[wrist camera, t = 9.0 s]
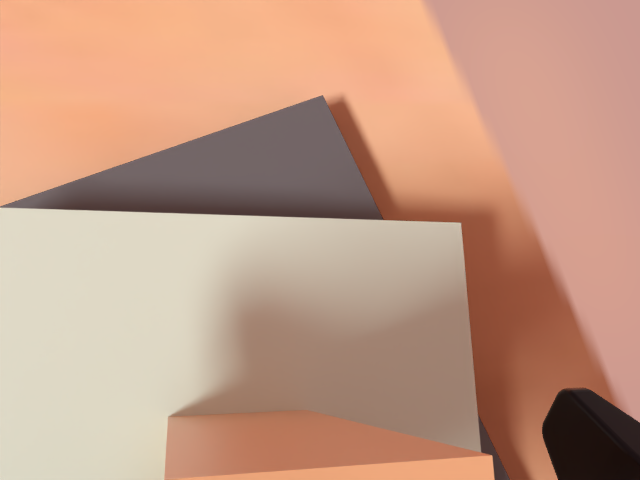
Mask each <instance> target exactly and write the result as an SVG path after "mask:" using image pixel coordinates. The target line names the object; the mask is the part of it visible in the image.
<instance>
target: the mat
mask: <svg viewBox="0 0 640 480" xmlns="http://www.w3.org/2000/svg"><path fill="white" fill-rule="evenodd" d="M0 208H27V209H58V210H88V211H119V212H149V213H180V214H211V215H241V216H272V217H302V218H333V219H363V220H383V218H382V216H381V214H380V212H379V210H378V208H377V206H376V204H375V202H374V200H373V198H372V196H371V193H370V191H369V189H368V187H367V185H366V183H365V181H364V179H363V177H362V175H361V173H360V171H359V169H358V167H357V165H356V163H355V161H354V159H353V156H352V154H351V152H350V150H349V148H348V146H347V144H346V142H345V140H344V138H343V136H342V134H341V132H340V130H339V128H338V126H337V124H336V122H335V119H334V117H333V115H332V113H331V111H330V109H329V107H328V105H327V103H326V101H325V99H324V97H323V95H322V96H319V97H316V98H313V99H310V100H308V101H305V102H302V103H299V104H296V105H293V106H290V107H287V108H284V109H281V110H279V111H276V112H273V113H270V114H267V115H264V116H261V117H258V118H255V119H253V120H250V121H247V122H244V123H241V124H238V125H235V126H232V127H229V128H226V129H224V130H221V131H218V132H215V133H212V134H209V135H206V136H203V137H200V138H197V139H195V140H192V141H189V142H186V143H183V144H180V145H177V146H174V147H171V148H169V149H166V150H163V151H160V152H157V153H154V154H151V155H148V156H145V157H142V158H140V159H137V160H134V161H131V162H128V163H125V164H122V165H119V166H116V167H114V168H111V169H108V170H105V171H102V172H99V173H96V174H93V175H90V176H87V177H85V178H82V179H79V180H76V181H73V182H70V183H67V184H64V185H61V186H58V187H56V188H53V189H50V190H47V191H44V192H41V193H38V194H35V195H32V196H30V197H27V198H24V199H21V200H18V201H15V202H12V203H9V204H6V205H3V206H1V207H0ZM478 422H479V434H480V445H481V453H485V454H489V455H492V457H493V468H494V479H495V480H510V479H509V477H508V475H507V473H506V471H505V469H504V467H503V465H502V463H501V461H500V459H499V456H498V454H497V452H496V450H495V448H494V446H493V444H492V442H491V440H490V438H489V436H488V434H487V432H486V430H485V428H484V426H483V424H482V422H481V419H480V417H479V415H478Z"/></svg>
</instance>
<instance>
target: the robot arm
mask: <svg viewBox="0 0 640 480" xmlns="http://www.w3.org/2000/svg"><path fill="white" fill-rule="evenodd" d="M542 434H543V439H544V442H545V445H546V448H547V450H548V453H549V456H550V459H551V461H552V464H553V467H554V470H555V472H556V475H557V478H558V480H640V423H639V422H638V421H636V420H635V419H633V418H632V417H630V416H629V415H627V414H626V413H624V412H623V411H621V410H620V409H618V408H617V407H615V406H614V405H612V404H611V403H609V402H608V401H606V400H605V399H603V398H602V397H600V396H599V395H597V394H596V393H594V392H593V391H591V390H589V389H586V388H567V389H563V390H561V391H560V392H559V393H558V394H557V396H556V398H555V400H554V402H553V404H552V406H551V408H550V410H549V412H548V414H547V416H546V418H545V420H544V422H543V427H542Z"/></svg>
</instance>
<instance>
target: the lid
mask: <svg viewBox="0 0 640 480" xmlns="http://www.w3.org/2000/svg"><path fill="white" fill-rule="evenodd" d="M0 480H495V479H494V468H493V457H492V455H489V454H485V453H481V445H480V434H479V422H478V411H477V399H476V388H475V376H474V365H473V353H472V342H471V330H470V319H469V308H468V296H467V285H466V273H465V262H464V250H463V239H462V227H461V223H455V222H424V221H394V220H363V219H333V218H302V217H272V216H241V215H211V214H180V213H149V212H119V211H88V210H58V209H27V208H0Z"/></svg>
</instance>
